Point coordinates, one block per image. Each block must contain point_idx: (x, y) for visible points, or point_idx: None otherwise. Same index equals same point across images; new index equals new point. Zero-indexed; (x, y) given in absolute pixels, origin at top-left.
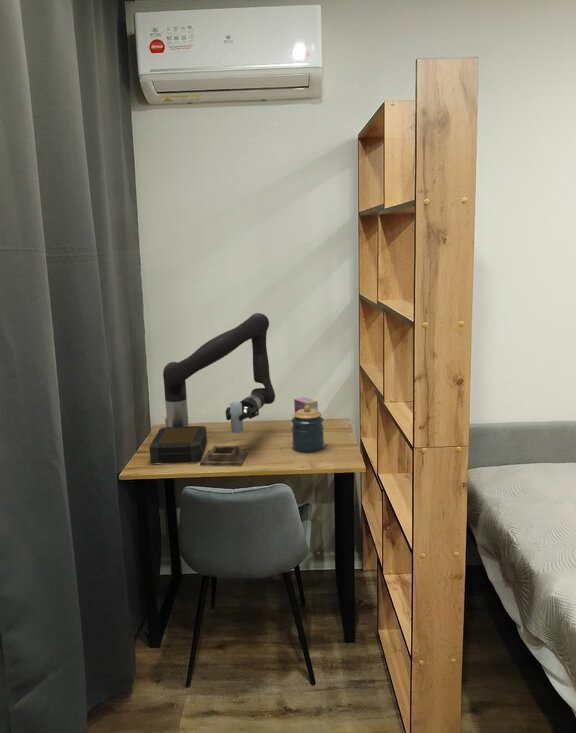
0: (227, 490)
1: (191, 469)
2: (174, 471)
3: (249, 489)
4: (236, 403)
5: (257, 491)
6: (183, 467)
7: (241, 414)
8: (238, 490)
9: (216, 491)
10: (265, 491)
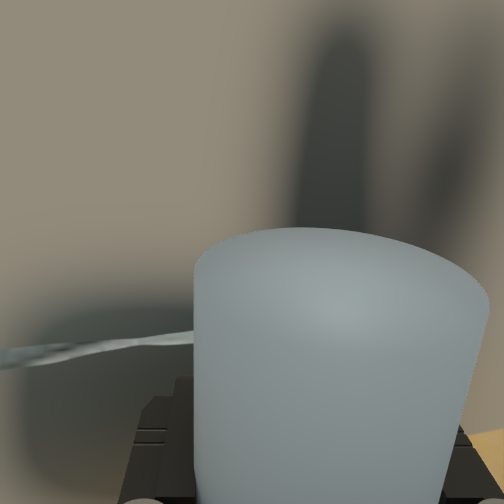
0: (154, 339)
1: None
2: (486, 435)
3: (70, 353)
4: (335, 285)
5: (38, 346)
6: (499, 486)
7: (185, 417)
8: (113, 344)
9: (191, 331)
10: (5, 349)
